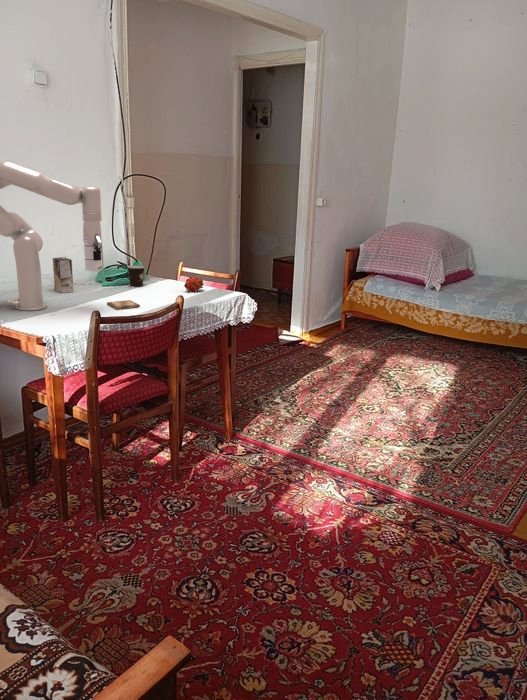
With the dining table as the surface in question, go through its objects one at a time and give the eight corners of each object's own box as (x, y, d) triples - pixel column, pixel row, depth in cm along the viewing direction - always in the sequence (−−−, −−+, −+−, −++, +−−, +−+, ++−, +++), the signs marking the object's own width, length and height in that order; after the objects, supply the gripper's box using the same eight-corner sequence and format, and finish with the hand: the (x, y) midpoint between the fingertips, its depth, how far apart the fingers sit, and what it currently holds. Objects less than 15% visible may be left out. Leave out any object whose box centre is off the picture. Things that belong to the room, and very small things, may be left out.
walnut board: (116, 309, 250) (116, 307, 250) (107, 304, 259) (106, 302, 258) (139, 307, 256) (139, 304, 256) (129, 302, 265) (129, 299, 264)
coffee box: (74, 292, 282) (72, 259, 277) (61, 293, 278) (59, 260, 273) (66, 288, 288) (64, 256, 284) (54, 290, 284) (51, 257, 279)
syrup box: (97, 271, 244) (96, 237, 240) (84, 270, 245) (83, 236, 241) (103, 269, 249) (102, 236, 245) (91, 268, 250) (89, 235, 246)
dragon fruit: (205, 293, 300) (186, 299, 293) (196, 281, 303) (177, 287, 295) (209, 282, 294) (190, 287, 286) (200, 270, 296) (181, 275, 289)
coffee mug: (139, 283, 309) (139, 265, 306) (147, 286, 302) (147, 267, 299) (120, 285, 302) (119, 266, 299) (127, 288, 295) (127, 269, 292)
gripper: (76, 215, 245) (78, 256, 250) (90, 219, 232) (92, 262, 237) (93, 215, 249) (95, 255, 255) (108, 219, 236) (109, 261, 241)
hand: (93, 258), depth 246 cm, fingers closed on syrup box, 7 cm apart
